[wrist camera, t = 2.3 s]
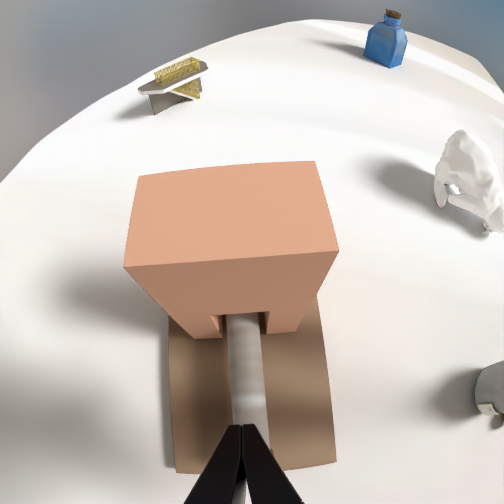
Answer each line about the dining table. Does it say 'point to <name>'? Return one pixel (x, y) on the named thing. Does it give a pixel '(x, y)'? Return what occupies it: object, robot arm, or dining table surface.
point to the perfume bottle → (387, 41)
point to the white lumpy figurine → (471, 179)
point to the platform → (175, 84)
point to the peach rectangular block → (232, 243)
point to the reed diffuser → (491, 390)
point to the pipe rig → (252, 390)
